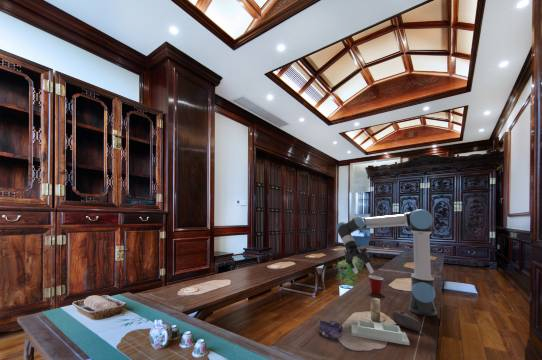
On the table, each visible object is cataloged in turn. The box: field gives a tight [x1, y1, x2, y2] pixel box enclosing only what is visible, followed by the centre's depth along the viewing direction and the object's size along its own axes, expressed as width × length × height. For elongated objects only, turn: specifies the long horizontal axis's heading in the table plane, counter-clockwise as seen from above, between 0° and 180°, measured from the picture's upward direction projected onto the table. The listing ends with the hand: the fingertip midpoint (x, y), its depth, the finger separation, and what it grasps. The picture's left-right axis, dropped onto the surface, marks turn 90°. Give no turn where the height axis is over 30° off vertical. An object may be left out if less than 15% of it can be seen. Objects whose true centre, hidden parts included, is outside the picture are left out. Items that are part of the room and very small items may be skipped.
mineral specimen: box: [318, 320, 344, 340], centre depth 129 cm, size 11×14×4 cm
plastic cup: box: [368, 274, 384, 295], centre depth 199 cm, size 11×11×12 cm
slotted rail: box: [351, 318, 410, 346], centre depth 128 cm, size 26×10×4 cm, turn 72°
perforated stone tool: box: [392, 310, 423, 332], centre depth 139 cm, size 15×5×7 cm, turn 33°
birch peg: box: [370, 297, 381, 323], centre depth 146 cm, size 5×5×12 cm
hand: (364, 273), depth 157 cm, fingers open, 13 cm apart
